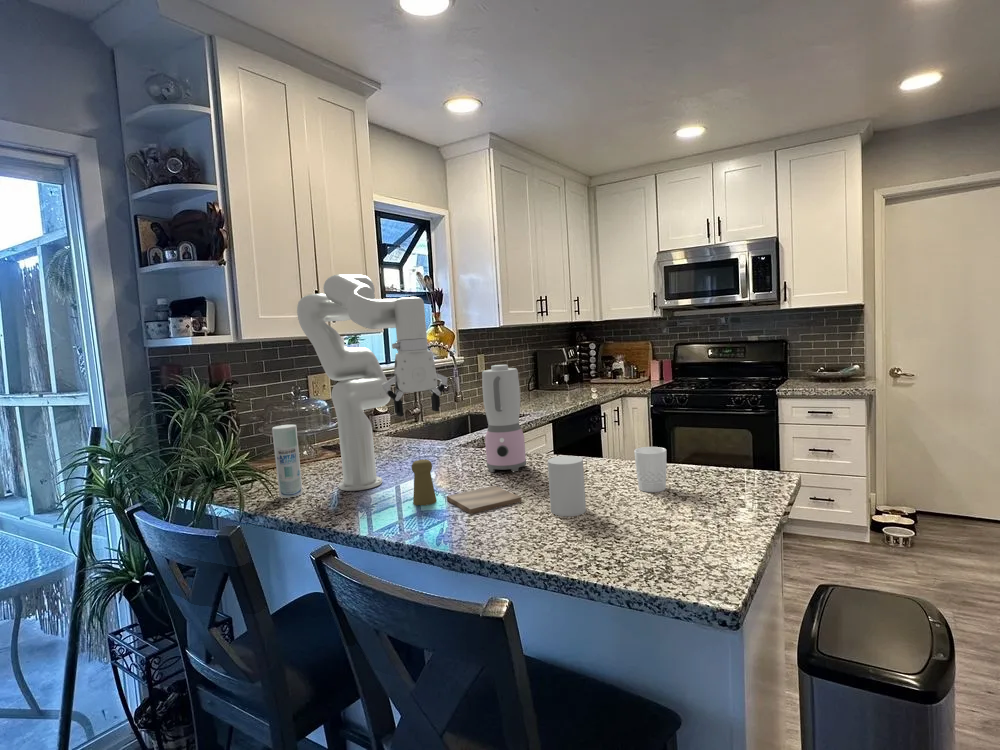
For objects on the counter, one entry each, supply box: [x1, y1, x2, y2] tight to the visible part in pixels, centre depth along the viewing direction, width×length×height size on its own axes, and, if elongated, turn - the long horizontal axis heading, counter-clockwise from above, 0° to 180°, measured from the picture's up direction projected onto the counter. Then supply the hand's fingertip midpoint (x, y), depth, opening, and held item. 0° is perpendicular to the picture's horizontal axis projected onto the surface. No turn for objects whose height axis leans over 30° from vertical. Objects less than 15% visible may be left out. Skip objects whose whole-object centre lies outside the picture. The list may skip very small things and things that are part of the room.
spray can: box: [271, 424, 304, 499], centre depth 164 cm, size 6×6×20 cm
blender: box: [481, 364, 527, 473], centre depth 175 cm, size 16×12×32 cm
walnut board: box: [446, 485, 522, 515], centre depth 145 cm, size 14×14×1 cm
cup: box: [547, 455, 587, 517], centre depth 133 cm, size 8×8×12 cm
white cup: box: [633, 446, 667, 493], centre depth 146 cm, size 8×8×10 cm
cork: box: [411, 458, 437, 506], centre depth 148 cm, size 6×6×11 cm
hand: (418, 413), depth 147 cm, fingers open, 9 cm apart
